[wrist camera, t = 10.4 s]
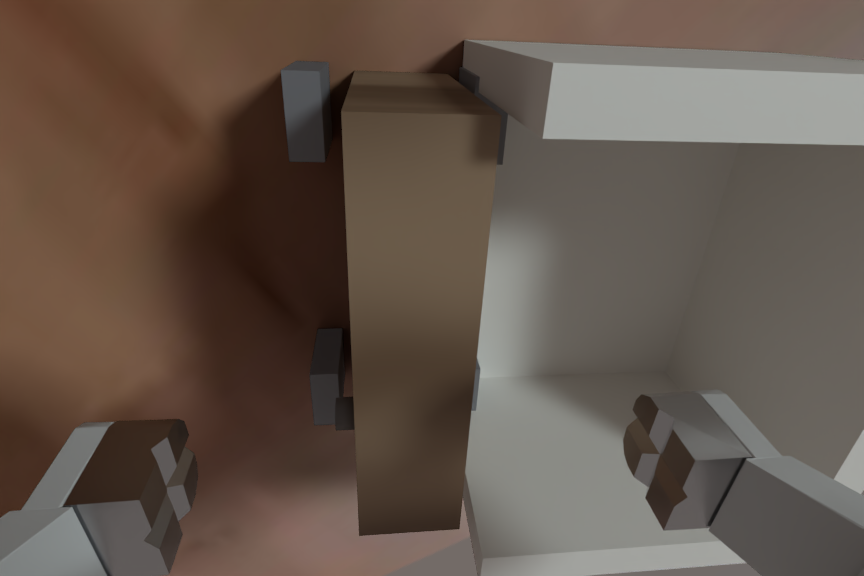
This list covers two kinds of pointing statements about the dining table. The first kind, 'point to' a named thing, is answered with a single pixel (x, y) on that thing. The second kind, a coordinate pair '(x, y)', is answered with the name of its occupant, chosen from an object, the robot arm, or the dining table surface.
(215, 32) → the dining table surface
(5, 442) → the dining table surface
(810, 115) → the cabinet
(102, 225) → the dining table surface
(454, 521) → the door
